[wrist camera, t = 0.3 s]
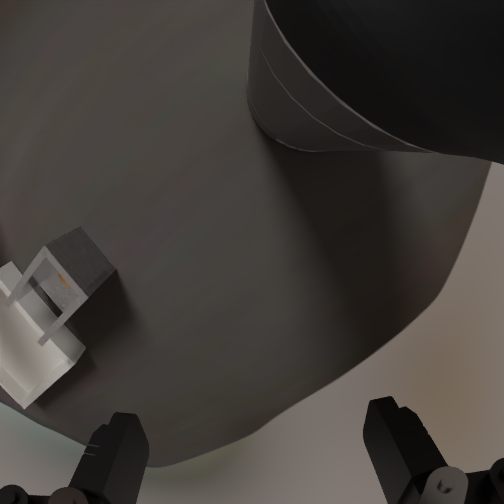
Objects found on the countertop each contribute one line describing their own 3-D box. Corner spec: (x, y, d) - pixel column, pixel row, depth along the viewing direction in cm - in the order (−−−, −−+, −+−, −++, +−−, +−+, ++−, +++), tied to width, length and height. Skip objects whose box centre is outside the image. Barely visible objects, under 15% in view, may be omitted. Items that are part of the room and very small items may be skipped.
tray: (11, 261, 25) (-6, 271, 22) (86, 347, 28) (75, 364, 25) (-26, 328, 27) (-39, 339, 24) (34, 395, 30) (24, 409, 28)
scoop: (81, 225, 24) (44, 245, 19) (117, 268, 26) (88, 297, 20) (38, 277, 26) (4, 303, 20) (70, 315, 27) (41, 347, 21)
